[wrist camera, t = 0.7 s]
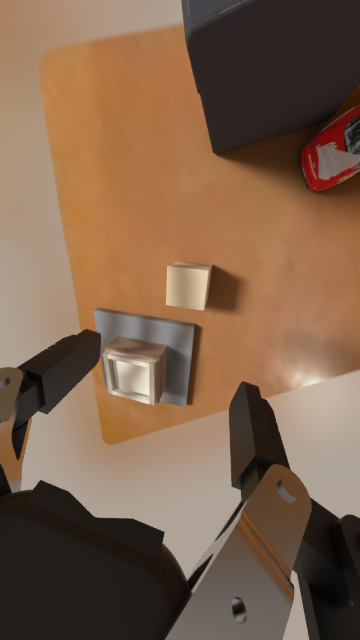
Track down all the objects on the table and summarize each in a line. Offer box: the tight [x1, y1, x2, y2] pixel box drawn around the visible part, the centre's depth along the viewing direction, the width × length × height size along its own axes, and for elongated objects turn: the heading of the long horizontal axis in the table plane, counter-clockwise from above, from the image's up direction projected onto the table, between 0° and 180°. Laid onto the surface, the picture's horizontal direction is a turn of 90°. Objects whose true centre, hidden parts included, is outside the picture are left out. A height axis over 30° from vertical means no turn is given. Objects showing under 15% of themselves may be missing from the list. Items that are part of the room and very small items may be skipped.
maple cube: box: [166, 261, 213, 311], centre depth 25 cm, size 5×5×5 cm
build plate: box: [94, 308, 195, 407], centre depth 33 cm, size 18×18×6 cm
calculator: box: [182, 0, 360, 154], centre depth 12 cm, size 11×4×15 cm, turn 99°
